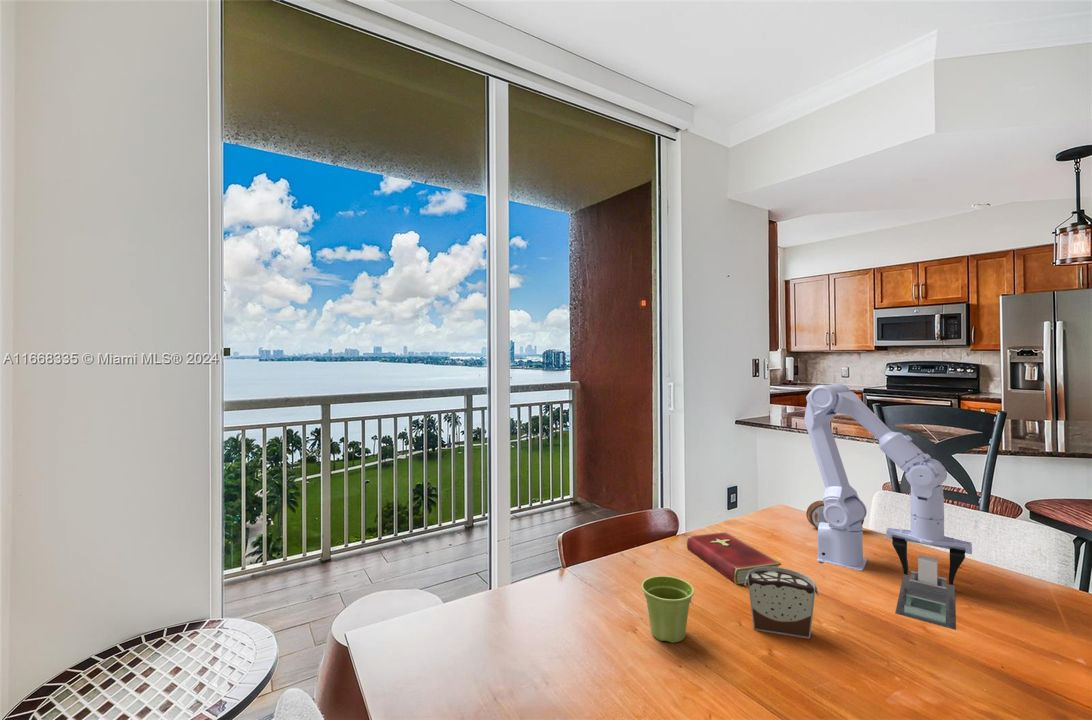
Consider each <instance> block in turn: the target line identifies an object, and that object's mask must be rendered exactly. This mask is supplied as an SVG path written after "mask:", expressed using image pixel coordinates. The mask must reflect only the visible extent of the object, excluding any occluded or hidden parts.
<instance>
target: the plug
mask: <svg viewBox="0 0 1092 720" xmlns="http://www.w3.org/2000/svg"><path fill="white" fill-rule="evenodd" d="M917 557H918V558H917V572H918V581H920V582H924V583H928V584H933V585H937V586H938V582H937V577H938V558H937V557H932V556H927V555H922V554H918V556H917Z"/></svg>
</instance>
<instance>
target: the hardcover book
mask: <svg viewBox="0 0 1092 720" xmlns="http://www.w3.org/2000/svg"><path fill="white" fill-rule="evenodd" d="M686 549H687V551H689V552H691V554H693V555H695V556H696V557H697V558H699V560H702V561H703V562H704V563H705V564H707V565H708V566H710V567H711V568H712V569H714V570H715V571H716V572H718V573H720V574H721V575H722V576H723V577H725V578H726V579H727V580H729V581H730V582H732V583H733V584H734V585H736V586H738V585H739V584H745V581H746V577H747V575H748V572H749V571H750V570H752V569H754V568H758V567H779V568H780V566H782V563H781V562H780V561H778V560H776V559H774V558H772V557H771V556H769V555H767V554H766V553H764V552H762V551H760V550H758V549H757V548H755V547H753V546H752V545H749V544H748V543H746V542H745V541H743V540H741V539H739V538H737V537H736V536H734V535H733V534H731V533H729V532H727V531H722V532H714V533H704V534H697V535H688V536H687V537H686ZM746 584H748V581H747V583H746Z"/></svg>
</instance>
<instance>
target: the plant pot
mask: <svg viewBox="0 0 1092 720" xmlns="http://www.w3.org/2000/svg"><path fill="white" fill-rule="evenodd" d="M641 590H642V592H643V594H644V596H645V599H646V605H647V611H648V616H649V617H648V618H649V625H650V632H651V634H652V636H653V637H654V638H656V639H657V640H659V641H660V642H664V641H665V642H669V643H673V644H674V643H678V642H681V641H683V640H684V639H685V638H686V637H685V636H686V632H687V625H688V618H689V608H690V603H691V601H692V597H693V596H694V594H695V588H694V587H693V585H692V584H691V583H690V582H688V581H686V580H684V579H681V578H678V577H676V576H669V575H655V576H651V577H647V578H646V579H644V580H643V581H642V582H641Z"/></svg>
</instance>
